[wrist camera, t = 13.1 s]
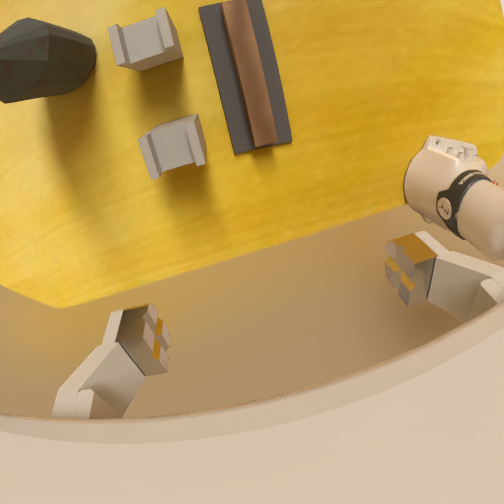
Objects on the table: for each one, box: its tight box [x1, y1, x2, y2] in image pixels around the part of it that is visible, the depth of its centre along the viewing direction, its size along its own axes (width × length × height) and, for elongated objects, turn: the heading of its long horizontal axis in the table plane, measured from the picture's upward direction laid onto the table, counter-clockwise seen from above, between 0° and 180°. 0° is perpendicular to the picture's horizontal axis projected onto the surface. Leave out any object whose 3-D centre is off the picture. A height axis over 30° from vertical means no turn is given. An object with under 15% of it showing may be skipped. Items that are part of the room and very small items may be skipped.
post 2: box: [138, 113, 206, 180], centre depth 35 cm, size 6×5×12 cm
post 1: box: [108, 7, 183, 71], centre depth 28 cm, size 6×5×12 cm
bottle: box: [0, 18, 95, 104], centre depth 18 cm, size 10×10×30 cm
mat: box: [199, 0, 292, 154], centre depth 36 cm, size 9×24×1 cm, turn 12°
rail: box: [221, 0, 278, 147], centre depth 35 cm, size 3×22×3 cm, turn 12°
